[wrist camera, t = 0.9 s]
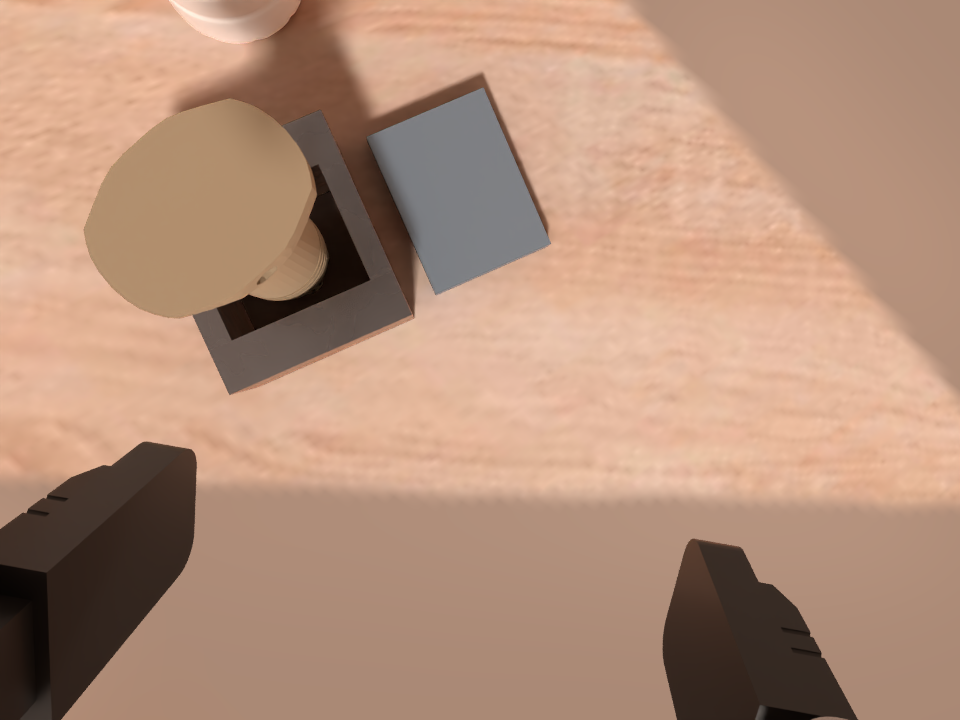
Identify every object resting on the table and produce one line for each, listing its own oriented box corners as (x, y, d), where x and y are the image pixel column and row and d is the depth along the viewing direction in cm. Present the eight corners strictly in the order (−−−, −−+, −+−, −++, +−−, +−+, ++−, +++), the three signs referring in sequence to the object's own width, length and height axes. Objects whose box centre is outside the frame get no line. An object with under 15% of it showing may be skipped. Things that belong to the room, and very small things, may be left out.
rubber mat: (368, 142, 35) (366, 136, 34) (481, 94, 35) (483, 87, 34) (435, 295, 35) (436, 294, 34) (547, 246, 36) (550, 243, 35)
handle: (380, 257, 35) (346, 195, 20) (282, 347, 35) (174, 351, 20) (311, 182, 35) (224, 63, 20) (211, 273, 35) (48, 221, 20)
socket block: (176, 210, 35) (133, 188, 30) (336, 142, 35) (320, 109, 30) (257, 387, 35) (229, 394, 30) (414, 318, 35) (412, 314, 30)
